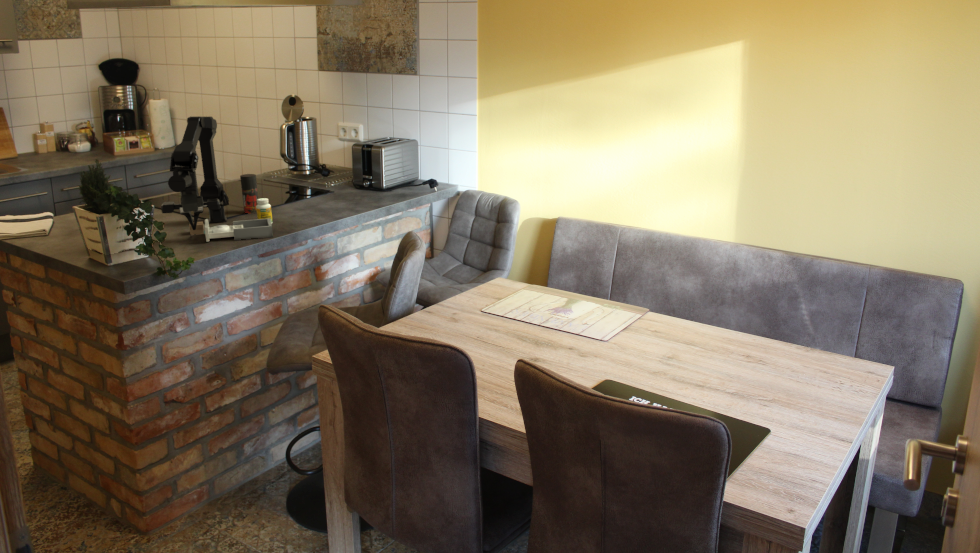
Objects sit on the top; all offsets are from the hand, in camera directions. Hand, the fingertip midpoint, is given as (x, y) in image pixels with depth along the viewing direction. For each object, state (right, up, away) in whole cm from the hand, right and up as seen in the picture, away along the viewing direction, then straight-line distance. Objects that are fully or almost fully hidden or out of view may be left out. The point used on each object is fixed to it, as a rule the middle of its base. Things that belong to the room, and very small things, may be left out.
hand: (194, 229), depth 255 cm
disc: (+8, -1, +3) cm, 9 cm away
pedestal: (-3, -1, +9) cm, 10 cm away
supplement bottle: (+18, +3, +21) cm, 28 cm away
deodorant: (+8, +9, +39) cm, 41 cm away
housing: (+18, -1, +7) cm, 20 cm away
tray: (+9, -2, +4) cm, 10 cm away
